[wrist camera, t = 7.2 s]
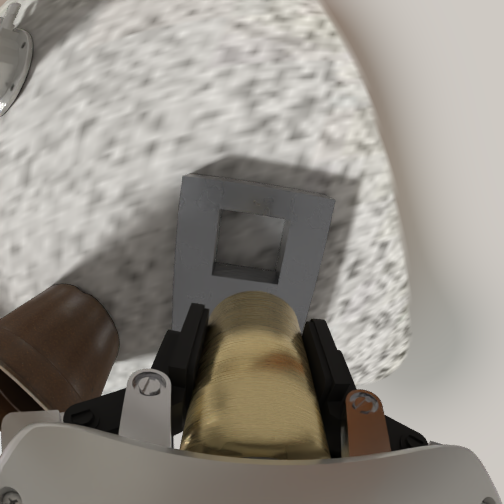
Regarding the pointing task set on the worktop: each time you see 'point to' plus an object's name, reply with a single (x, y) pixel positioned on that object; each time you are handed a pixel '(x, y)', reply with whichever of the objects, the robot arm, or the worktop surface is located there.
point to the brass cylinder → (254, 385)
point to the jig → (239, 277)
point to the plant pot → (55, 351)
